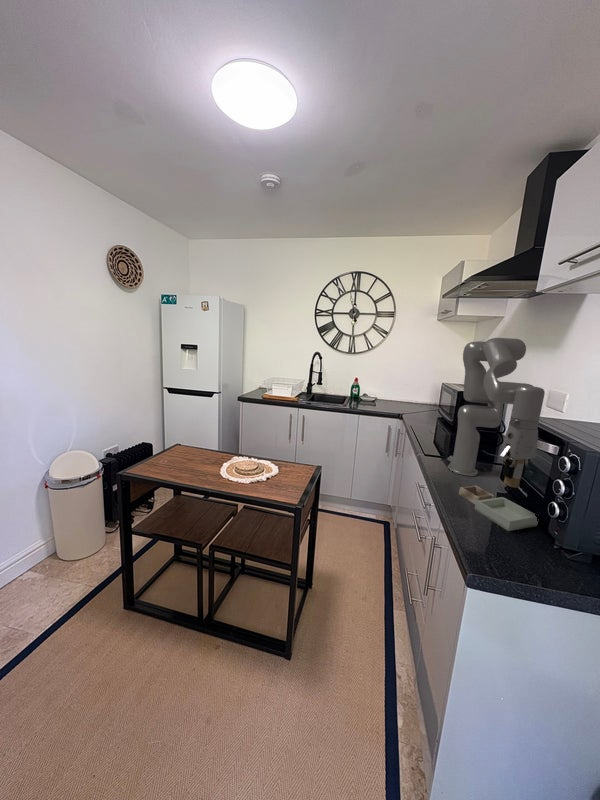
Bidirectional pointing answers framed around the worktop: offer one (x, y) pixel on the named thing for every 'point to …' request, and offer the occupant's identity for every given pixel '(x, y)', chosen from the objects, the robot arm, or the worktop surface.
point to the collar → (471, 490)
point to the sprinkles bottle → (515, 474)
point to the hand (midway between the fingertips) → (513, 475)
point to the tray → (506, 513)
